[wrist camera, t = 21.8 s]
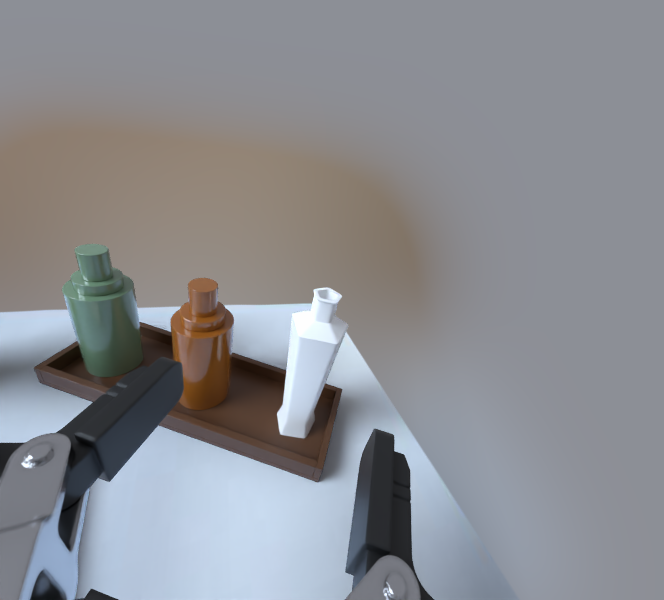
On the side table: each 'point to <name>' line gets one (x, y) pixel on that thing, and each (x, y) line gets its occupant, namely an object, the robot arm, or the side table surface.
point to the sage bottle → (103, 314)
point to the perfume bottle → (310, 361)
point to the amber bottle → (203, 345)
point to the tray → (218, 406)
